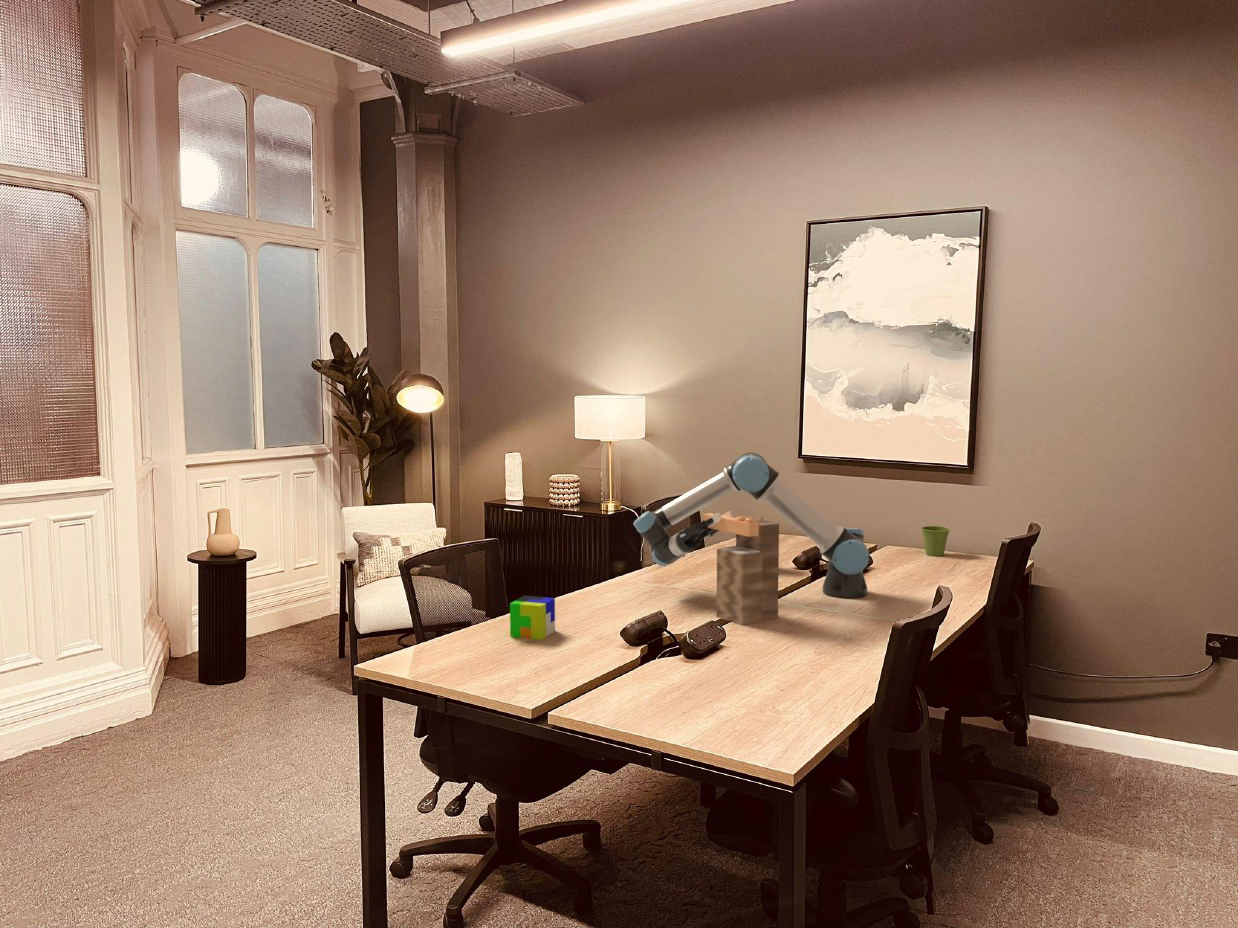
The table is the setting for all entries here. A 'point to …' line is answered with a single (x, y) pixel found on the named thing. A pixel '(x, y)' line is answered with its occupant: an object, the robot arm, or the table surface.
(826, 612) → the table surface
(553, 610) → the puzzle toy
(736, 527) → the orange beam
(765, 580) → the step stand
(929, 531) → the plant pot
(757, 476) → the robot arm
